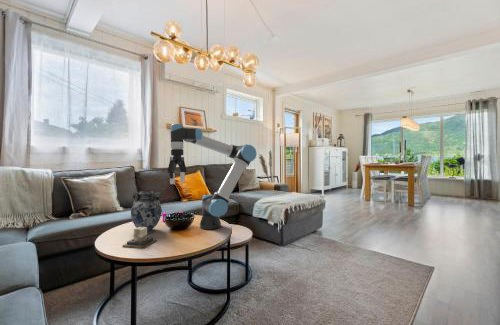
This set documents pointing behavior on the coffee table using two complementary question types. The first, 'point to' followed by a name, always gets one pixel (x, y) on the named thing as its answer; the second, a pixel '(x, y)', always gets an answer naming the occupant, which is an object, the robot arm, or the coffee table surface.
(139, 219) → the decorative vase
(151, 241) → the base board
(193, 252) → the coffee table surface
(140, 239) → the birch block
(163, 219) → the toy block
